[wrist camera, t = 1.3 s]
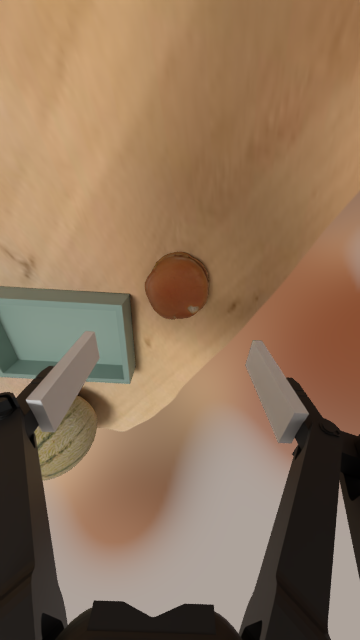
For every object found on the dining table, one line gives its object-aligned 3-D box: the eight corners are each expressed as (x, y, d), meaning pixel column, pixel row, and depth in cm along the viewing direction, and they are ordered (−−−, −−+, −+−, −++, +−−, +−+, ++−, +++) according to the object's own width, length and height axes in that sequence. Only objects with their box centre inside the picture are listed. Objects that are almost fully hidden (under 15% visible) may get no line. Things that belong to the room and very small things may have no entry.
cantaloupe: (118, 413, 46) (92, 491, 33) (69, 425, 49) (27, 501, 36) (82, 371, 40) (32, 448, 26) (28, 388, 42) (-42, 465, 29)
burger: (163, 240, 27) (160, 245, 23) (218, 269, 29) (224, 278, 25) (139, 297, 31) (133, 309, 27) (188, 319, 33) (189, 334, 29)
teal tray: (-18, 285, 30) (-47, 295, 27) (129, 293, 31) (121, 305, 27) (18, 360, 38) (-1, 376, 34) (135, 366, 39) (130, 383, 35)
